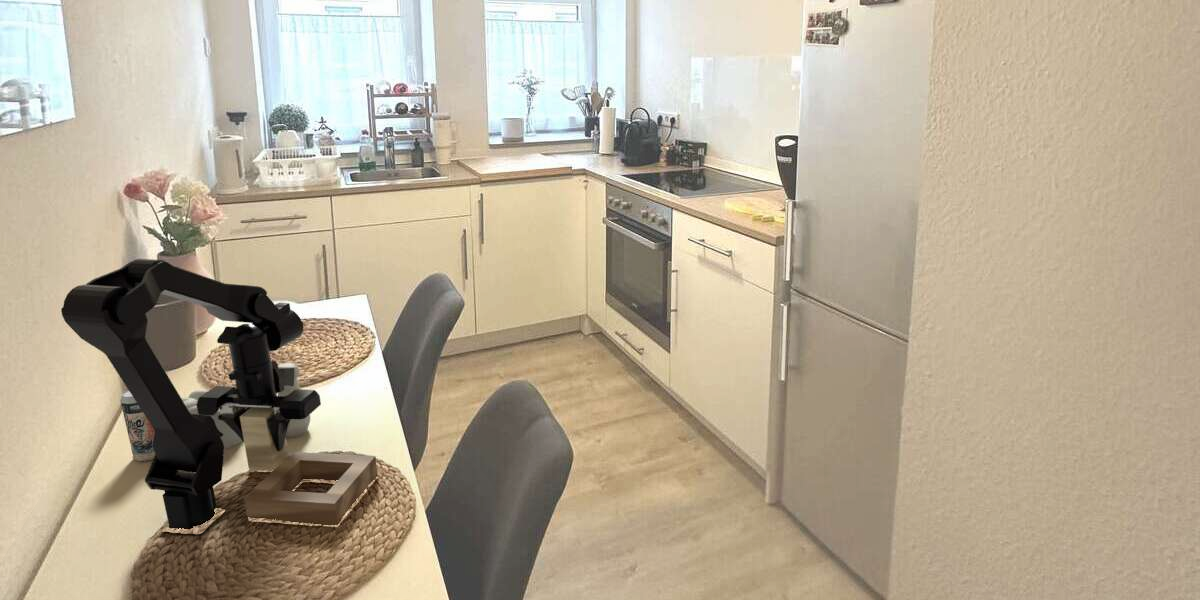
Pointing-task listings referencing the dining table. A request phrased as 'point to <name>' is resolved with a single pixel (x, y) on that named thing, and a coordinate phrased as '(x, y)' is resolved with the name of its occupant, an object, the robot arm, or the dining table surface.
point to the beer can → (137, 428)
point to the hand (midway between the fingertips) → (266, 449)
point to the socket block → (307, 507)
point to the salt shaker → (295, 425)
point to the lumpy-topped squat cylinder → (228, 434)
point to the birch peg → (260, 440)
